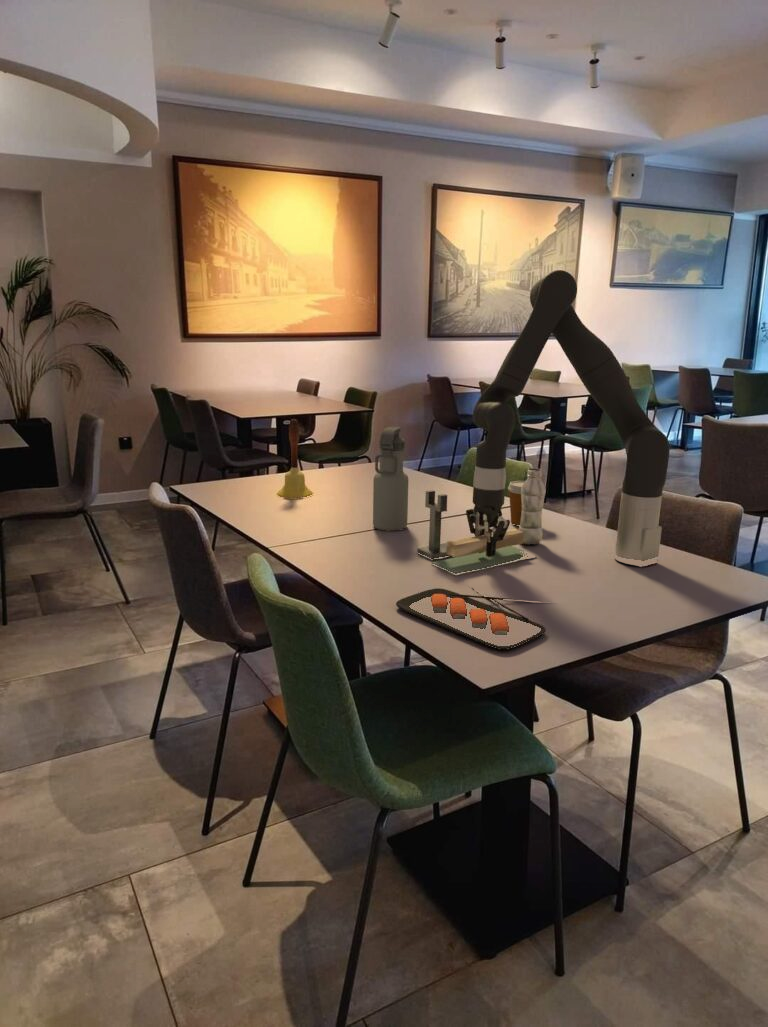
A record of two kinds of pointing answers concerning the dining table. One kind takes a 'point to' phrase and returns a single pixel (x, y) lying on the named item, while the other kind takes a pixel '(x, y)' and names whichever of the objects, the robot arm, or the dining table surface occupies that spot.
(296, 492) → the handbell
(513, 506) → the disposable coffee cup
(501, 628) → the sushi plate
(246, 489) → the dining table surface
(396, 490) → the water bottle
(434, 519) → the rail stand
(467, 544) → the beech rail
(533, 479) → the plastic bottle
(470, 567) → the rubber mat
